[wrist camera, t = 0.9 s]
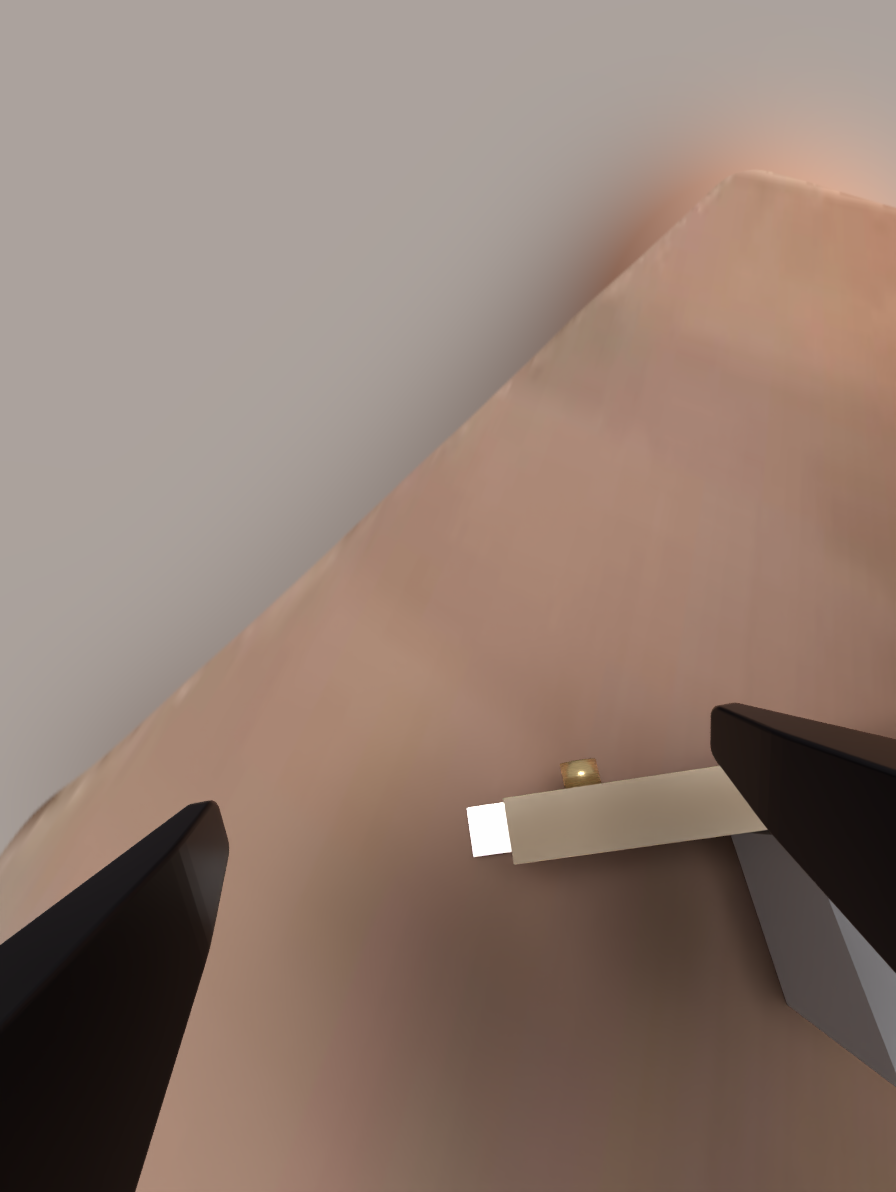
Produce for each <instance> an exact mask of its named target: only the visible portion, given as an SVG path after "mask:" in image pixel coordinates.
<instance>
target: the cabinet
mask: <svg viewBox="0 0 896 1192" xmlns="http://www.w3.org/2000/svg"><path fill="white" fill-rule="evenodd" d="M731 837H732V840H733V843H734V846H735V849H736V852H737V855H738V858H739V861H740V864H741V867H742V870H743V873H744V876H745V879H746V882H747V885H748V888H749V891H750V894H751V897H752V900H753V903H754V906H755V909H756V912H757V915H758V918H759V921H760V924H761V927H762V930H763V933H764V936H765V939H766V942H767V945H768V948H769V951H770V954H771V957H772V960H773V963H774V966H775V969H776V972H777V975H778V978H779V981H780V984H781V987H782V990H783V993H784V996H785V999H786V1002H787V1005H788V1006H789V1007H791V1008H792V1009H793V1010H795V1011H796V1012H797V1013H799V1014H800V1015H801V1016H803V1017H804V1018H805V1019H807V1020H808V1021H809V1022H811V1023H812V1024H813V1025H815V1026H816V1027H817V1028H819V1029H820V1030H821V1031H823V1032H824V1033H825V1034H827V1035H828V1036H829V1037H830V1038H832V1039H833V1040H834V1041H836V1042H837V1043H838V1044H840V1045H841V1046H842V1047H844V1048H845V1049H846V1050H848V1051H849V1052H850V1053H852V1054H853V1055H854V1056H856V1057H857V1058H858V1059H860V1060H861V1061H862V1062H864V1063H865V1064H866V1065H868V1066H869V1067H870V1068H871V1069H873V1070H874V1071H875V1072H877V1073H878V1074H879V1075H881V1076H882V1077H883V1078H885V1079H886V1080H887V1081H889V1082H890V1083H891V1084H893V1085H894V1086H895V1087H896V973H895V972H894V971H893V970H892V969H891V968H890V967H889V966H888V964H887V963H886V962H885V961H884V960H883V959H882V958H881V957H880V955H879V954H878V953H877V952H876V951H875V950H874V949H873V948H872V946H871V945H870V944H869V943H868V942H867V941H866V940H865V939H864V938H863V936H862V935H861V934H860V933H859V932H858V931H857V930H856V929H855V927H854V926H853V925H852V924H851V923H850V922H849V921H848V920H847V918H846V917H845V916H844V915H843V914H842V913H841V912H840V911H839V909H838V908H837V907H836V906H835V905H834V904H833V903H832V902H831V901H830V899H829V898H828V897H827V896H826V895H825V894H824V893H823V892H822V890H821V889H820V888H819V887H818V886H817V885H816V884H815V883H814V881H813V880H812V879H811V878H810V877H809V876H808V875H807V874H806V873H805V871H804V870H803V869H802V868H801V867H800V866H799V865H798V864H797V862H796V861H795V860H794V859H793V858H792V857H791V856H790V855H789V853H788V852H787V851H786V850H785V849H784V848H783V847H782V846H781V844H780V843H779V842H778V841H777V840H776V839H775V838H774V836H773V835H772V834H771V833H770V832H769V831H768V830H763V831H755V832H748V833H741V834H734V835H731Z"/></svg>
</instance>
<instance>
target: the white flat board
mask: <svg viewBox="0 0 896 1192" xmlns="http://www.w3.org/2000/svg"><path fill="white" fill-rule="evenodd" d="M467 813H468V820H469V827H470V835H471V842H472V849H473V857H477V856H484V855H491V854H498V853H505V852H512V851H511V845H510V839H509V833H508V827H507V821H506V815H505V809H504V803H497V804H491V805H484V806H477V807H471V808H467Z"/></svg>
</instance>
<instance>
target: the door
mask: <svg viewBox="0 0 896 1192" xmlns="http://www.w3.org/2000/svg"><path fill="white" fill-rule="evenodd" d="M560 768H561V773H562V777H563V782H564V787H565V789H561V790H554V791H547V792H541V793H534V794H527V795H521V796H514V797H507V798H503V803H504V809H505V815H506V821H507V827H508V833H509V839H510V845H511V851H512V857H513V863H514V865H516V864H523V863H531V862H538V861H545V860H552V859H560V858H567V857H574V856H581V855H589V854H596V853H603V852H610V851H618V850H625V849H632V848H639V847H647V846H654V845H661V844H668V843H676V842H683V841H690V840H697V839H705V838H712V837H719V836H726V835H734V834H741V833H748V832H755V831H763V830H768V829H767V828H766V827H765V826H764V824H763V823H762V822H761V820H760V819H759V818H758V817H757V815H756V814H755V813H754V811H753V810H752V809H751V807H750V806H749V804H748V803H747V802H746V800H745V799H744V798H743V796H742V795H741V794H740V792H739V791H738V790H737V788H736V787H735V786H734V784H733V783H732V782H731V780H730V779H729V778H728V776H727V775H726V773H725V772H724V771H723V769H722V768H721V767H720V766H714V767H708V768H701V769H694V770H688V771H681V772H674V773H668V774H661V775H654V776H647V777H641V778H634V779H627V780H621V781H614V782H607V783H601V780H600V776H599V772H598V768H597V764H596V759H594V758H592V759H583V760H576V761H571V762H566V763H562V764H560Z"/></svg>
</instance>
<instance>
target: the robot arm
mask: <svg viewBox="0 0 896 1192" xmlns="http://www.w3.org/2000/svg"><path fill="white" fill-rule="evenodd" d="M710 745H711V751H712V754H713V756H714V758H715V760H716V761H717V763H718V764H719V765H720V767H721V768H722V769H723V771H724V772H725V773H726V775H727V776H728V778H729V779H730V780H731V782H732V783H733V784H734V786H735V787H736V788H737V790H738V791H739V792H740V794H741V795H742V796H743V798H744V799H745V800H746V802H747V803H748V804H749V806H750V807H751V809H752V810H753V811H754V813H755V814H756V815H757V817H758V818H759V819H760V820H761V822H762V823H763V824H764V826H765V827H766V828H767V829H768V831H769V832H770V833H771V834H772V835H773V836H774V838H775V839H776V840H777V841H778V842H779V843H780V844H781V846H782V847H783V848H784V849H785V850H786V851H787V852H788V853H789V855H790V856H791V857H792V858H793V859H794V860H795V861H796V862H797V864H798V865H799V866H800V867H801V868H802V869H803V870H804V871H805V873H806V874H807V875H808V876H809V877H810V878H811V879H812V880H813V881H814V883H815V884H816V885H817V886H818V887H819V888H820V889H821V890H822V892H823V893H824V894H825V895H826V896H827V897H828V898H829V899H830V901H831V902H832V903H833V904H834V905H835V906H836V907H837V908H838V909H839V911H840V912H841V913H842V914H843V915H844V916H845V917H846V918H847V920H848V921H849V922H850V923H851V924H852V925H853V926H854V927H855V929H856V930H857V931H858V932H859V933H860V934H861V935H862V936H863V938H864V939H865V940H866V941H867V942H868V943H869V944H870V945H871V946H872V948H873V949H874V950H875V951H876V952H877V953H878V954H879V955H880V957H881V958H882V959H883V960H884V961H885V962H886V963H887V964H888V966H889V967H890V968H891V969H892V970H893V971H894V972H895V973H896V739H892V738H888V737H883V736H879V735H875V734H870V733H866V732H862V731H857V730H853V729H849V728H844V727H840V726H835V725H831V724H827V723H822V722H818V721H814V720H809V719H805V718H801V717H796V716H792V715H788V714H783V713H779V712H775V711H770V710H766V709H761V708H757V707H753V706H748V705H744V704H740V703H729V704H724V705H718V706H715V707H714V708H713V709H712V712H711V741H710ZM228 856H229V842H228V838H227V834H226V830H225V827H224V823H223V820H222V816H221V813H220V809H219V806H218V805H217V803H216V802H215V801H213V800H211V801H204V802H199V803H194V804H190V805H188V806H186V807H185V808H184V809H182V810H181V811H180V812H178V813H177V814H176V815H174V816H173V817H171V818H170V819H169V820H167V821H166V822H165V823H163V824H162V825H161V826H159V827H158V828H157V829H155V830H154V831H153V832H151V833H150V834H149V835H147V836H146V837H145V838H143V839H142V840H141V841H139V842H138V843H137V844H135V845H134V846H133V847H131V848H130V849H129V850H127V851H126V852H124V853H123V854H122V855H120V856H119V857H118V858H116V859H115V860H114V861H112V862H111V863H110V864H108V865H107V866H106V867H104V868H103V869H102V870H100V871H99V872H98V873H96V874H95V875H94V876H92V877H91V878H90V879H88V880H87V881H86V882H84V883H83V884H82V885H80V886H79V887H77V888H76V889H75V890H73V891H72V892H71V893H69V894H68V895H67V896H65V897H64V898H63V899H61V900H60V901H59V902H57V903H56V904H55V905H53V906H52V907H51V908H49V909H48V910H47V911H45V912H44V913H43V914H41V915H40V916H39V917H37V918H36V919H35V920H33V921H32V922H30V923H29V924H28V925H26V926H25V927H24V928H22V929H21V930H20V931H18V932H17V933H16V934H14V935H13V936H12V937H10V938H9V939H8V940H6V941H5V942H4V943H2V944H1V945H0V1192H135V1191H136V1188H137V1184H138V1181H139V1178H140V1175H141V1171H142V1168H143V1165H144V1162H145V1158H146V1155H147V1152H148V1149H149V1145H150V1142H151V1139H152V1136H153V1132H154V1129H155V1126H156V1123H157V1119H158V1116H159V1113H160V1110H161V1106H162V1103H163V1100H164V1097H165V1093H166V1090H167V1087H168V1084H169V1080H170V1077H171V1074H172V1071H173V1067H174V1064H175V1061H176V1058H177V1054H178V1051H179V1048H180V1045H181V1041H182V1038H183V1035H184V1032H185V1029H186V1025H187V1022H188V1019H189V1016H190V1012H191V1009H192V1006H193V1003H194V999H195V996H196V993H197V990H198V986H199V983H200V980H201V977H202V973H203V970H204V967H205V963H206V960H207V956H208V953H209V949H210V945H211V941H212V936H213V932H214V927H215V922H216V917H217V912H218V906H219V901H220V896H221V891H222V886H223V881H224V876H225V871H226V866H227V861H228Z"/></svg>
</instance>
